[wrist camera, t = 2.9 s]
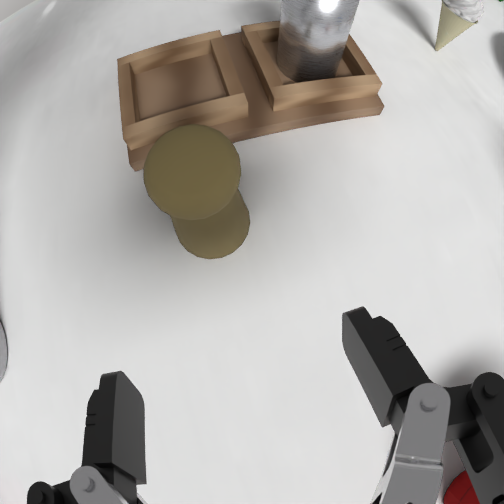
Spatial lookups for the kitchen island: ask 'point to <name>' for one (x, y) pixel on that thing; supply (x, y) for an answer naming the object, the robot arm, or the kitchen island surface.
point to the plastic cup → (461, 491)
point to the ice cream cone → (457, 19)
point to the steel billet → (313, 37)
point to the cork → (199, 189)
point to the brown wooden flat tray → (234, 89)
